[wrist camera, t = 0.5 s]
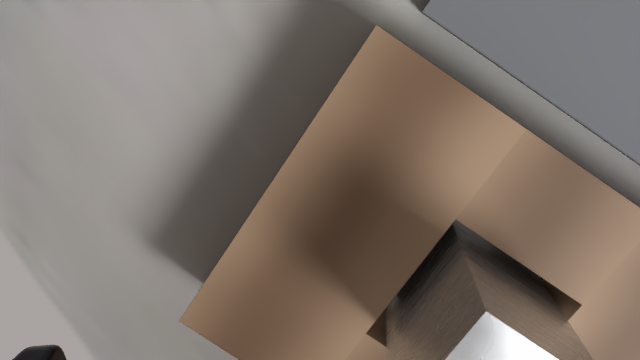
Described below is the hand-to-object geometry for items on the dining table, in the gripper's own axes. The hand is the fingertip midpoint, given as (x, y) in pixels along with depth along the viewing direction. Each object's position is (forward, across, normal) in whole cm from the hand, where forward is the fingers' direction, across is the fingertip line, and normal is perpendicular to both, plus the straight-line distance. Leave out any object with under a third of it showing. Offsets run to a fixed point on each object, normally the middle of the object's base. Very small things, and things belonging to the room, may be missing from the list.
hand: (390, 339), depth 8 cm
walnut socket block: (+11, -5, +9) cm, 15 cm away
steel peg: (+11, -5, +9) cm, 15 cm away
